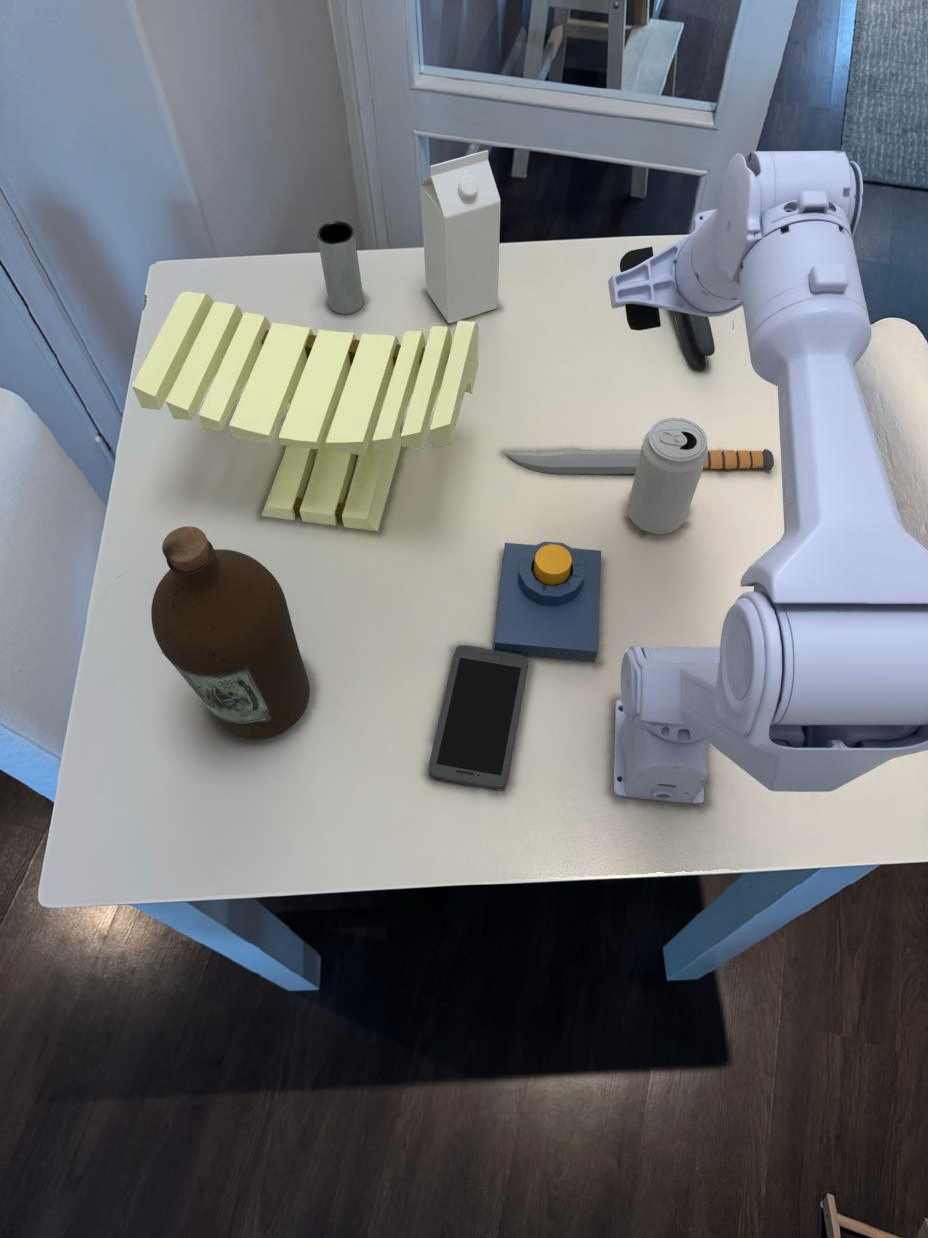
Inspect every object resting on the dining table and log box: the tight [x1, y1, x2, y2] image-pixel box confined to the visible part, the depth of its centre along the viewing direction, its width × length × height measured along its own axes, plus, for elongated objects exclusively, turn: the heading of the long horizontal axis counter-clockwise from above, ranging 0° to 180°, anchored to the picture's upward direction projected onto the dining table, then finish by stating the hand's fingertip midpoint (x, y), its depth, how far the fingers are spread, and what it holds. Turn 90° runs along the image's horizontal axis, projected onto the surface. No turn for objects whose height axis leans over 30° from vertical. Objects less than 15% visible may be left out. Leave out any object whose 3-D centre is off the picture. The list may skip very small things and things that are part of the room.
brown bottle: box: [150, 525, 311, 740], centre depth 70 cm, size 11×11×25 cm
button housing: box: [493, 541, 602, 663], centre depth 84 cm, size 12×10×4 cm
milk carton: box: [419, 149, 501, 324], centre depth 102 cm, size 7×7×19 cm
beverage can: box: [627, 417, 709, 535], centre depth 86 cm, size 6×6×12 cm
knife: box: [504, 448, 775, 475], centre depth 95 cm, size 30×1×5 cm
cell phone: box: [428, 644, 529, 791], centre depth 79 cm, size 7×14×1 cm, turn 169°
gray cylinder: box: [316, 220, 365, 315], centre depth 105 cm, size 4×4×10 cm
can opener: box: [672, 311, 716, 370], centre depth 104 cm, size 18×7×6 cm, turn 3°
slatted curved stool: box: [131, 290, 479, 532], centre depth 88 cm, size 30×16×18 cm, turn 80°
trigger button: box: [534, 544, 572, 586], centre depth 83 cm, size 4×4×2 cm
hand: (683, 296), depth 68 cm, fingers open, 7 cm apart
